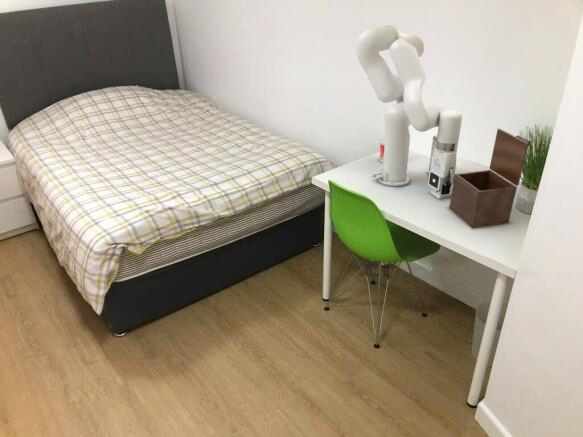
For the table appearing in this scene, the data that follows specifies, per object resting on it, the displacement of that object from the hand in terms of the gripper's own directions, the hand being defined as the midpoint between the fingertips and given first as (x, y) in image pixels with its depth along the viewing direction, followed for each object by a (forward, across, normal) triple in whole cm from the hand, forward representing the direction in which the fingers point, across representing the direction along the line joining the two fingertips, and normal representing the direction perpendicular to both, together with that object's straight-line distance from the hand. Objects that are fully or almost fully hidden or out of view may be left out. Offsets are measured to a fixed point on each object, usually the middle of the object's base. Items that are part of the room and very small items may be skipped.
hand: (439, 189), depth 176 cm
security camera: (+2, 0, 0) cm, 2 cm away
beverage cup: (+2, -37, -6) cm, 38 cm away
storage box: (+2, +18, +5) cm, 19 cm away
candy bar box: (+2, -14, +8) cm, 16 cm away
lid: (-19, +18, +11) cm, 28 cm away
